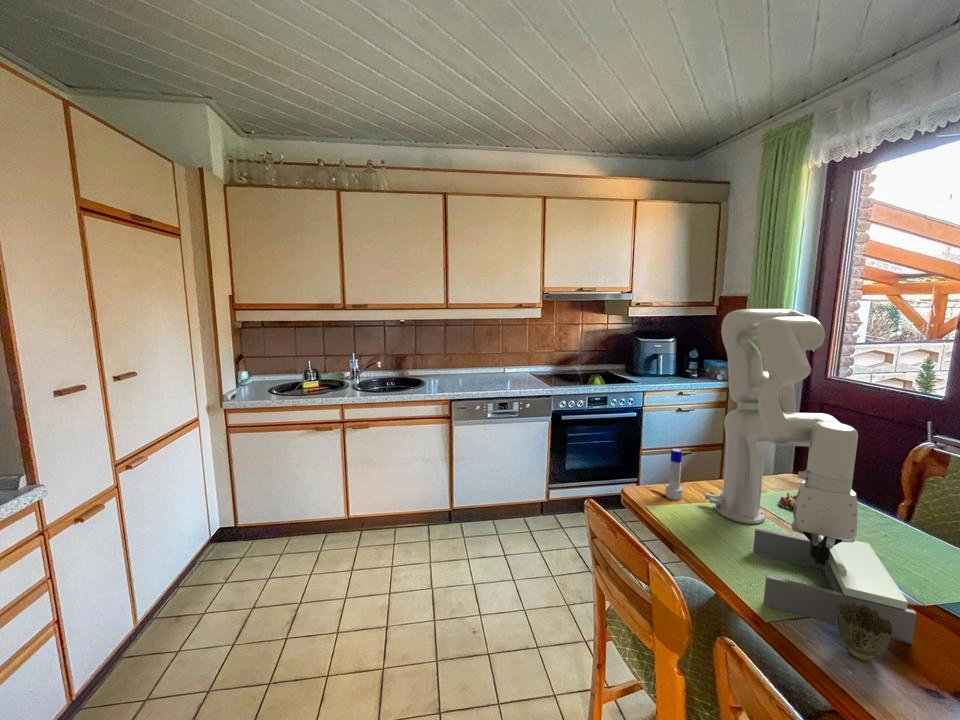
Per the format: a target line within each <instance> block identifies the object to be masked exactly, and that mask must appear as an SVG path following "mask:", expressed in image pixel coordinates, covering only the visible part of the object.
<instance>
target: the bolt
mask: <svg viewBox="0 0 960 720" xmlns="http://www.w3.org/2000/svg"><path fill="white" fill-rule="evenodd" d="M682 456H683V451H682V450H681V449H680V448H672V449H671V450H670V462H669V463H670V466H669V478H668V479H669V481H668V484H666V485H665V490H664V491H665V494H664V495H665V496H666V498H668V499H670V500H675V501H678V500H681V499H682V498H683V491H684V490H683V487H682V486H681V472H682V459H683V458H682Z"/></svg>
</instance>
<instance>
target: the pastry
mask: <svg viewBox="0 0 960 720" xmlns="http://www.w3.org/2000/svg"><path fill="white" fill-rule="evenodd" d="M796 498H797V495H793V496H792V495H791V494H790V492H789V491H787V494H786V497H784V496H781V497H780V500H779V501H778V502H777V505H780V506H781V507H783V508H785V509H794V507H795V502H796Z"/></svg>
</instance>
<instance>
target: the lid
mask: <svg viewBox="0 0 960 720" xmlns="http://www.w3.org/2000/svg"><path fill="white" fill-rule="evenodd" d="M818 537H819V542H820V541H822V540H823V537H824V536H822V535H818ZM875 553H876V552H875V550H874V549H873V548H872V546H871V545H870V544H869V543H868V542H863V541H859V540H855V541H854V542H852V543H851V542H841V543H839V544H837V545H834V546H833V548H832V549H830V554H829V560H828V561H829V564H830V566H831V568H832V570H833V572H834V574H835V576H836V578H837V580H838V582H839V585H840V587H841V589H842V591H843V593H844V595H847V596H851V597H855V598H859V599H863V600H867V601H872V602H876V603H880V604H884V605H888V606H892V607H896V608H901V609H905V610H907V609H908V604H909V603H908V600H907V599H906V597H905V595H903V593H902V591H901V589H900V588H899V587H898V585H897V583H896V582H895V580H894V578H892V576H891V575H890V573H889V571H888V570H887V569H886V567H885V566H884V564H883V563H882V561H881V559H880V558H879V557H878V554H877V553H876V554H877V555H876V554H875Z"/></svg>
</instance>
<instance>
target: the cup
mask: <svg viewBox="0 0 960 720" xmlns="http://www.w3.org/2000/svg"><path fill="white" fill-rule="evenodd" d="M837 622H838V625H837V630H838V634H839V635H838V636H839V637H840V639H841V641H842V642H843V644H844V645H845V649H846V652H847V653H848V655H849V656H851V658H854V659H855V660H857V661H859V662H862V663H870V662H872V661H873V660H874V658H876V657H879V656H881V655H882V654H884V653H885V651H886V650H887V648H888V645H889V643H890V640H891V639H890V637H891V634H892V631H893V627H894V625H893V624H890V620H889V619H888V618H887V619H885V621H884V620H883V618H880V617H879V612H878V611H877V610H874V611H872V610H871V609H870V608H869V607H868V606H866V605H861V606H857V604H856V603H855V602H853V603H852V605H851V606H850V604H849V603H848V602H845V603H844V604H843V602H842V603H841V605H840V606H839V605H838V607H837Z"/></svg>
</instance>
